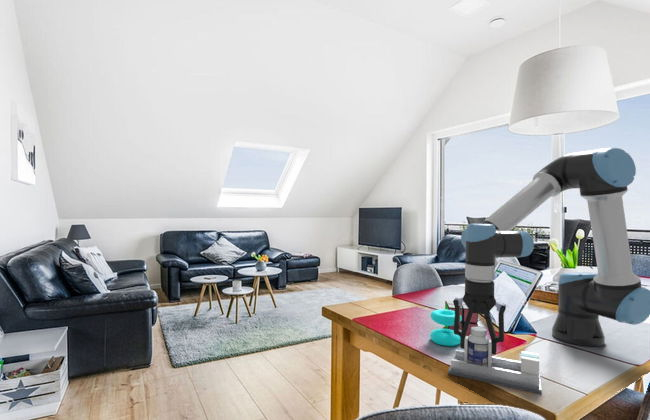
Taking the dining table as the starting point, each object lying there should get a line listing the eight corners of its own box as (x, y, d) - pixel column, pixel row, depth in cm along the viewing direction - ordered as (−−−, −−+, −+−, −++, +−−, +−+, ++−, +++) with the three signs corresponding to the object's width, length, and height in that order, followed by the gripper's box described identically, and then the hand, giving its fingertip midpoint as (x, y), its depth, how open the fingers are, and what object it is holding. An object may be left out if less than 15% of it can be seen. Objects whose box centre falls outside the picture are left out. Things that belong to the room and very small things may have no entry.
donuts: (455, 308, 129) (466, 317, 119) (455, 336, 129) (466, 347, 119) (427, 308, 129) (435, 316, 119) (426, 336, 129) (435, 347, 119)
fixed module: (538, 376, 97) (538, 353, 97) (539, 385, 93) (539, 361, 92) (520, 372, 99) (521, 350, 99) (520, 381, 94) (521, 357, 94)
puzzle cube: (477, 337, 128) (478, 309, 128) (447, 335, 130) (448, 307, 130) (472, 328, 138) (472, 302, 138) (444, 326, 140) (444, 300, 140)
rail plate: (539, 376, 100) (539, 363, 100) (541, 394, 90) (541, 380, 90) (454, 359, 110) (454, 347, 110) (448, 374, 100) (448, 361, 100)
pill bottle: (465, 358, 105) (466, 324, 105) (486, 360, 104) (486, 326, 104) (469, 366, 100) (470, 331, 100) (490, 369, 99) (491, 332, 98)
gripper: (517, 280, 100) (515, 364, 101) (447, 273, 109) (445, 351, 109) (516, 285, 94) (515, 376, 94) (442, 278, 102) (441, 360, 103)
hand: (477, 362), depth 102 cm, fingers closed on pill bottle, 5 cm apart
